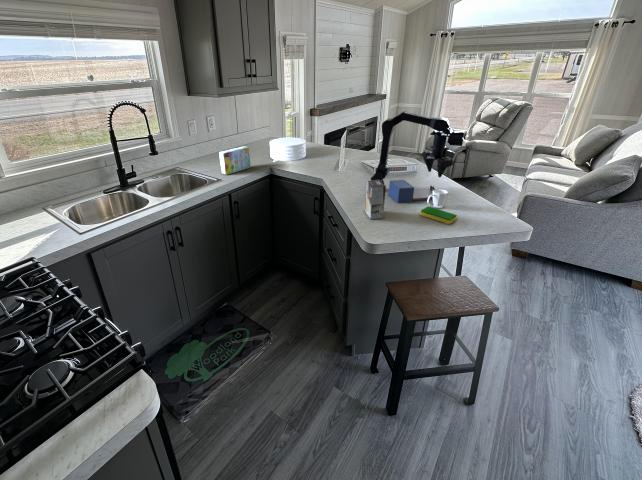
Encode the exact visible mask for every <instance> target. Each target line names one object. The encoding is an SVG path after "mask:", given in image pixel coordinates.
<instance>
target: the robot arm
mask: <svg viewBox="0 0 642 480" xmlns="http://www.w3.org/2000/svg"><path fill="white" fill-rule="evenodd" d="M404 121H405V122H409V123H413V124H417V125H421V126H422V125H423V126H426V127H429V128H430V129H432V130H433V131H432V132H430V134H429V136H433V141H432V145H430V149H431V150H426V151H422V153H421V157H422V159H423V161H424V163H425V167H426V169H427V171H428V173H431V171H432V169H433V166H434V162H435V161H437V164H436V170H437V171H436V172H437V177H438V178H440V179H441V178H442V176H443V174H444V173H445V171H446V170H447V169H448V168H450V167H451V166H454V160H453V159H454V157H455V156H456V152H455V151H453V150H450V148H449V147H447V146H446V143H447V144H448V145H449V146H451V147H453V146H454V147H463V143H464V137H465V136H464V135H465V131H453V129H452V127H451V126H450V121H449V119H448V118H446V117H429V116H427V115H421V114H416V113H412V112H408V111H406V110H405V111H402V112H401V113H399V114H397V115H396V116H393V117H392V118H391V117H389V118H386V119H385V120H384V121H383V122H382V123H381V134H382V141H381V148H380V154H379V156H380V157H379V162H378V165H377V167H376V170H375V172H374V174H373V175H372V176H371V177H370V181H371V180H380V181H381V182H382V183H383V184H384V185H385V178H386V177H387V176H388V175H389V173H390V168H391V165H390V164H388V159H389V154H390V153H389V152H390V146H391V139H392V135H393V133H394V131H395V127H396V126H397V125H398V124H401V123H402V122H404Z"/></svg>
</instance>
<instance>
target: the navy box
mask: <svg viewBox="0 0 642 480" xmlns="http://www.w3.org/2000/svg"><path fill="white" fill-rule="evenodd" d="M435 189H438V188H437V187H436V186H434V185H432V184H430V185H429V187H420V188H415V187H414V186H413V185H412V184H410V183H409V182H408V181H406V180H405V179H396V180H395V179H394V180H389V185H388V195H389V197H391V198H392V200H394V201H395V202H396V203H397V204H401V203H413V201H424V200H428V197H429V196H430V195H431V194H433V190H435ZM429 200H433V196H431V197H430V199H429Z"/></svg>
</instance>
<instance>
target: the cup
mask: <svg viewBox="0 0 642 480" xmlns="http://www.w3.org/2000/svg"><path fill="white" fill-rule="evenodd" d="M448 194H449V192H448V191H447V190H445V189H441V188H437V189H435V190H433V194H431V195H430V196H429V197H428V199H426V200H427V201H426V203H427V205H428V206H429V207H432V208H436V209H442V208H444V207H443V206H444V205H445V202H446V200H447V197H448ZM431 196H433V199H432V204H433V205H432V204H430V200H431V199H430V197H431Z"/></svg>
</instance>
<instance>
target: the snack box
mask: <svg viewBox="0 0 642 480" xmlns="http://www.w3.org/2000/svg"><path fill="white" fill-rule="evenodd" d="M218 156H219V163H220V169H221V170H220V171H221V174H222V175H225V176H227V175H230V174H233V173H236V172H237V173H238V172H240V171H244V170H247V169H251V168H252V167H251V156H250V147H249V146H246V145H244V146H243V145H242V146H240V147H235V148H231V149H227V150H223V151H219V152H218Z"/></svg>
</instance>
